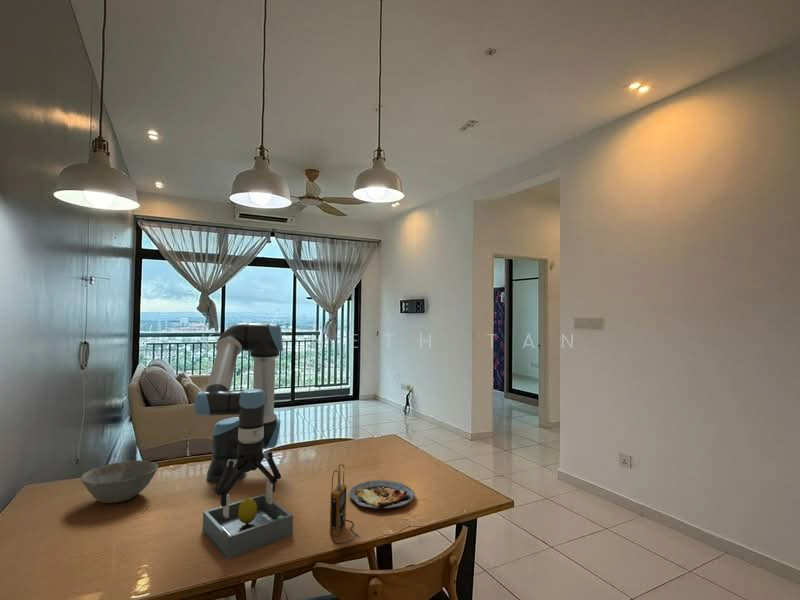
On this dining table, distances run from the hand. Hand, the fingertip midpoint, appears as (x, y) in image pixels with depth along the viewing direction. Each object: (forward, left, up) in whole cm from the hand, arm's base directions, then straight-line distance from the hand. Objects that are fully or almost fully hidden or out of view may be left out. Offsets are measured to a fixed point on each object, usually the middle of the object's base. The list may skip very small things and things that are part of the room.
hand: (248, 509), depth 127 cm
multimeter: (+20, +24, -8) cm, 32 cm away
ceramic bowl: (-53, -25, -8) cm, 59 cm away
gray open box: (0, 0, -7) cm, 7 cm away
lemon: (0, 0, -5) cm, 5 cm away
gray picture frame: (0, 0, -5) cm, 5 cm away
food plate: (+8, +48, -8) cm, 49 cm away
